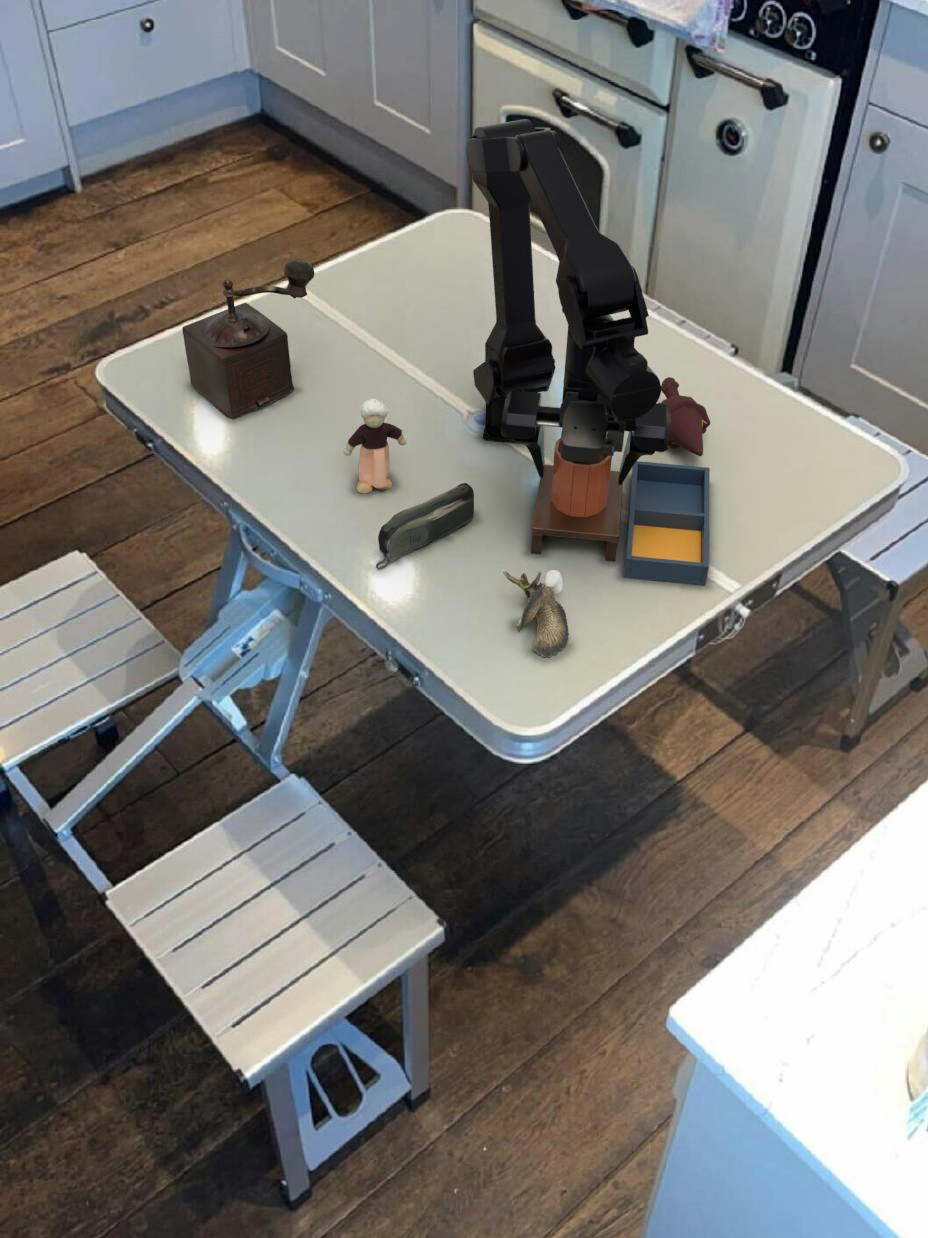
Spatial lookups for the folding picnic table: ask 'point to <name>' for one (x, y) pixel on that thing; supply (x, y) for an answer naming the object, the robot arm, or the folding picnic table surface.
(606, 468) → the cup
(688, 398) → the maroon cone-shaped figurine
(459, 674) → the folding picnic table surface
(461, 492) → the dark green rounded bar
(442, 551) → the folding picnic table surface
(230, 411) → the coffee grinder
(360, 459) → the grandmother figurine
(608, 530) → the brown low table
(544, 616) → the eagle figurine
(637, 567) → the blue divided tray
